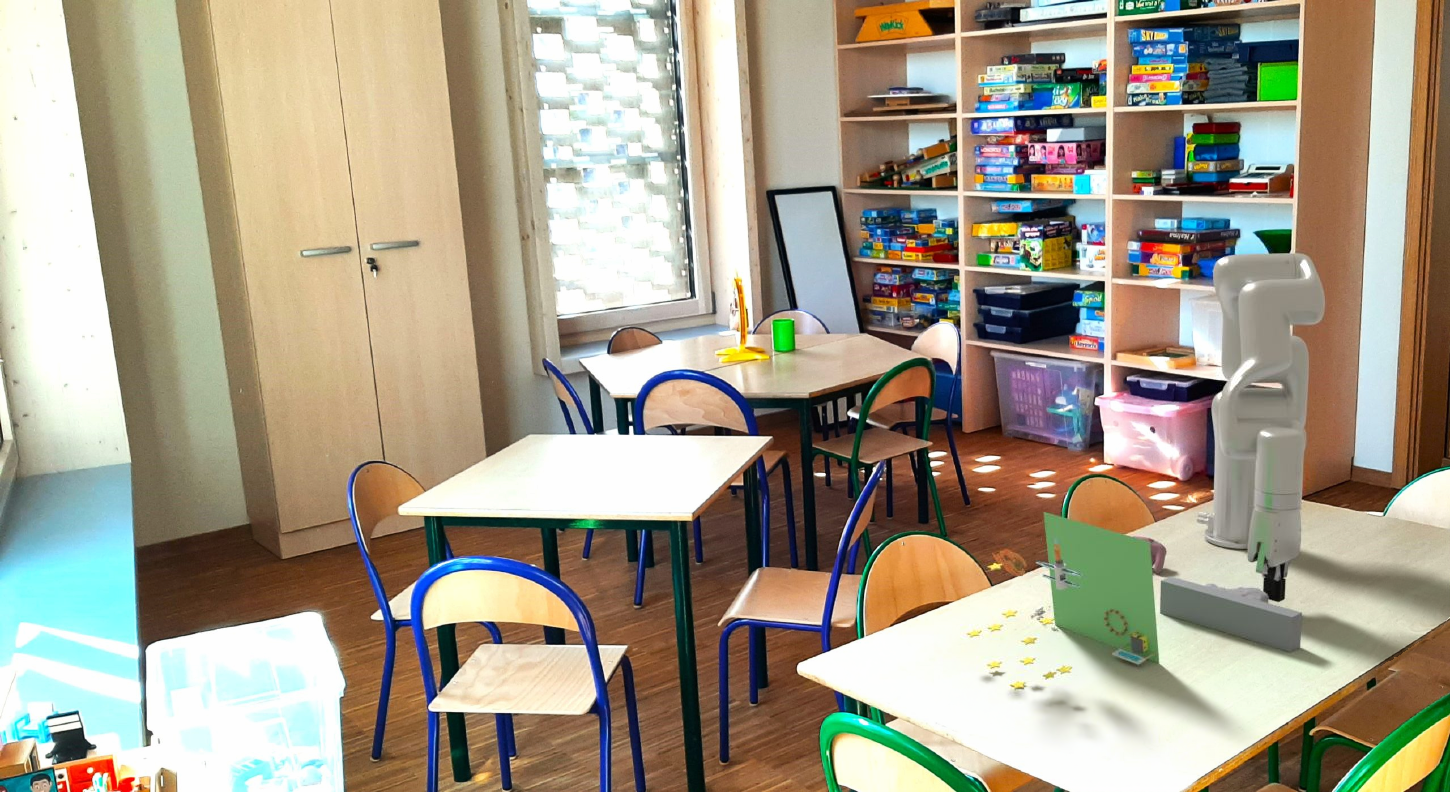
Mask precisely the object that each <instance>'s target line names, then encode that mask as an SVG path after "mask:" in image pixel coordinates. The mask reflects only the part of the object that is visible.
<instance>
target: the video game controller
mask: <svg viewBox="0 0 1450 792" xmlns="http://www.w3.org/2000/svg"><path fill="white" fill-rule="evenodd" d="M1133 537H1135V538H1138V539H1142V540H1145V541H1149V542H1150V548H1151V561H1152V567H1154V571H1155V573H1156V574H1157V575H1158V574H1160V573H1161V572H1162V571H1163V569H1164V565H1165V561H1166V556H1167V552H1168V550H1167V548H1166V546H1164V544H1162V543H1160V542H1159V541H1158V540H1155V539H1152V538H1150V537H1147V536H1146V537H1145V536H1137V535H1135V536H1133Z"/></svg>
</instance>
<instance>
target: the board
mask: <svg viewBox="0 0 1450 792" xmlns="http://www.w3.org/2000/svg"><path fill="white" fill-rule="evenodd" d="M1159 593H1160V596H1159V597H1160V599H1159V600H1160V601H1159V602H1160V603H1159V604H1160V605H1159V606H1160V607H1159V613H1160V614H1163V615H1165V616H1168V617H1173V618H1175V619H1180V620H1182V621H1185V622H1186V621H1187V622H1189V623H1193V624H1196V625H1200V626H1202V627H1206V628H1209V629H1212V630H1216V631H1219V632H1222V633H1225V634H1228V635H1233V636H1235V637H1239V638H1242V639H1245V640H1249V641H1252V642H1256V643H1259V644H1262V645H1266V646H1269V647H1272V648H1275V649H1278V650H1282V651H1285V652H1289V653H1292V652H1294V651H1296V650H1298V649H1299V648H1301V642H1302V641H1301V640H1302V639H1301V637H1302V621H1303V619H1302V618H1303V615H1302V614H1303V612H1302V611H1298V610H1294V609H1290V608H1287V607H1283V606H1280V605H1275V604H1273V603H1269V602H1268V603H1266V602H1262V601H1258V600H1255V599H1251V598H1247V597H1244V596H1240V595H1236V594H1233V593H1229V592H1225V591H1222V590H1218V589H1214V588H1211V587H1207V586H1204V585H1203V584H1199V583H1195V582H1191V581H1188V580H1185V579H1181V578H1177V577H1174V576H1168V577H1167V578H1163V579H1161V580H1160V592H1159Z"/></svg>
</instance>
